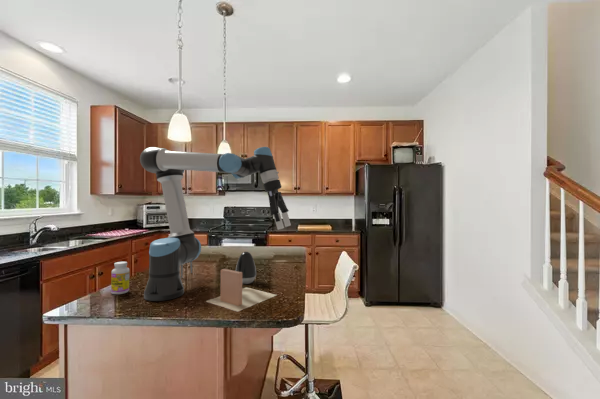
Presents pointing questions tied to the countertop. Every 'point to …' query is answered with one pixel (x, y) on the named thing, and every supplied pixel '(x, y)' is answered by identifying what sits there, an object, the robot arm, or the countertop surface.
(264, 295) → the cloth
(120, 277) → the supplement bottle
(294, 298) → the countertop surface
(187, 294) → the countertop surface
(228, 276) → the tile
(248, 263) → the black glossy egg shape
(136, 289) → the countertop surface
